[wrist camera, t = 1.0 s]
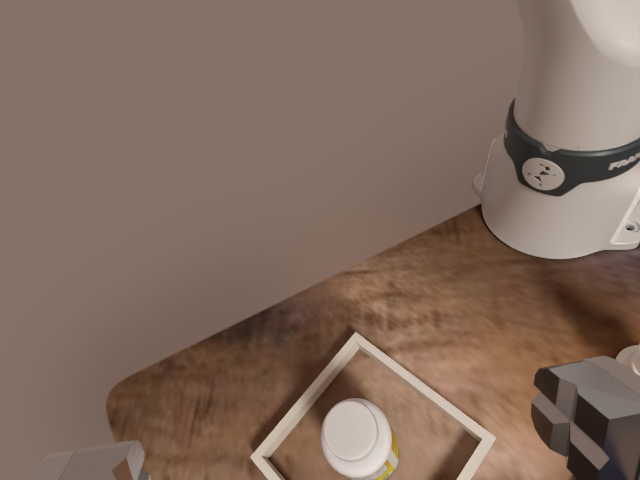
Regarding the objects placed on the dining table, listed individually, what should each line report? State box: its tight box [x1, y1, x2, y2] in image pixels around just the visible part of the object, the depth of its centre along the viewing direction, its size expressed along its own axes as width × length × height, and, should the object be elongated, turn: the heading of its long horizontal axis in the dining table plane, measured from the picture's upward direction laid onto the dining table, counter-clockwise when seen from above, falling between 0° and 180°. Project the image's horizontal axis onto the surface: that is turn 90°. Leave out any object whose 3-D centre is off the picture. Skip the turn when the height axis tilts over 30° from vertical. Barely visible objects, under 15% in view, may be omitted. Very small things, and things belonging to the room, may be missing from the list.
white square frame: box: [250, 332, 496, 480], centre depth 35 cm, size 16×16×2 cm
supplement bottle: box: [321, 398, 399, 480], centre depth 32 cm, size 6×6×10 cm
